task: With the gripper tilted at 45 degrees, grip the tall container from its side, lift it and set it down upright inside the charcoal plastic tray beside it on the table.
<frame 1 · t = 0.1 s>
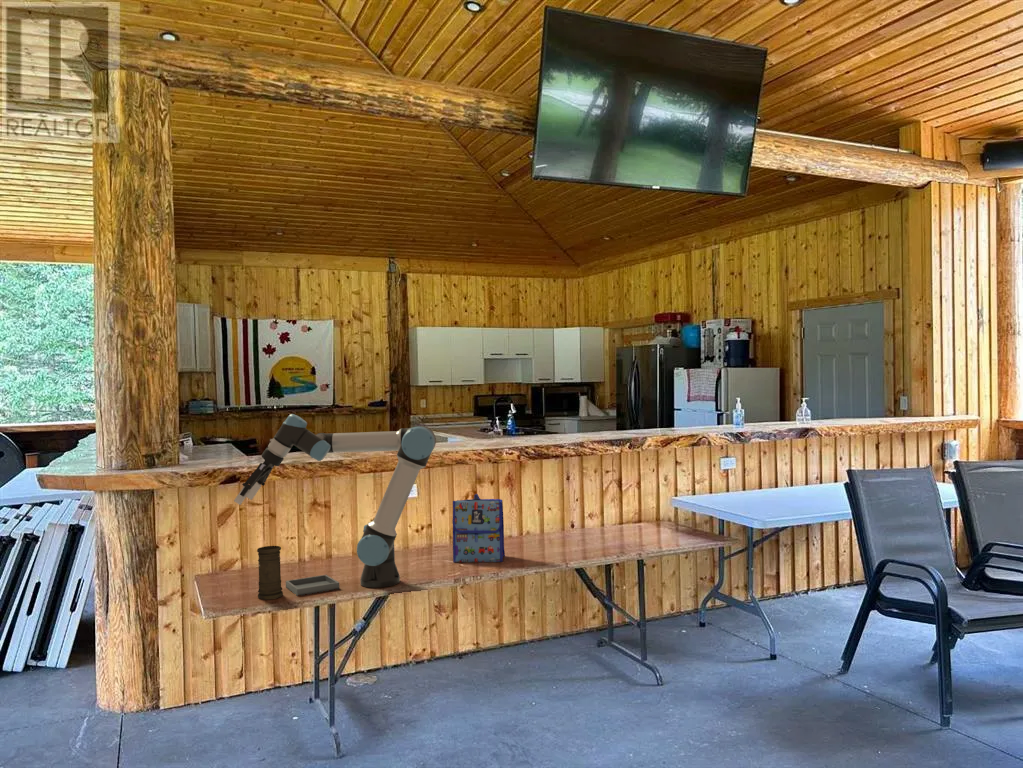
hand: (242, 500, 277), 36 cm above the table, tool tilted 35°, fingers open, 13 cm apart
lunch bag: (479, 560, 329), on the table
tray: (312, 588, 287), on the table
container: (270, 597, 277), on the table
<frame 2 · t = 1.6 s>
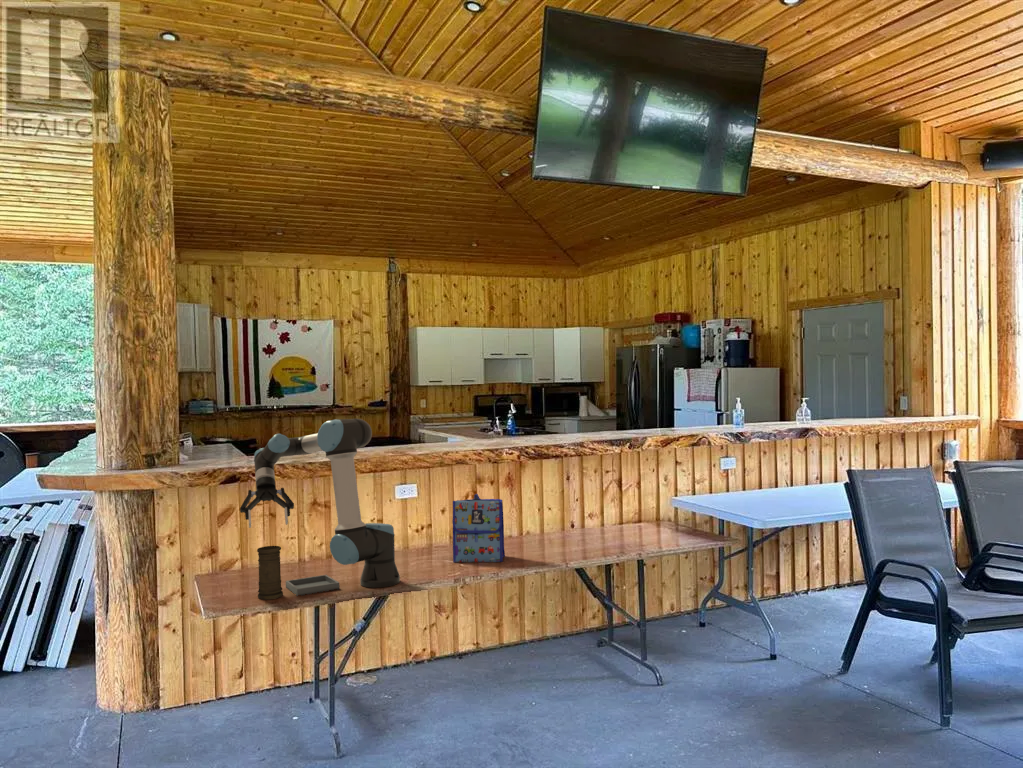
hand: (268, 524, 291), 24 cm above the table, tool tilted 45°, fingers open, 13 cm apart
nothing on the table moved.
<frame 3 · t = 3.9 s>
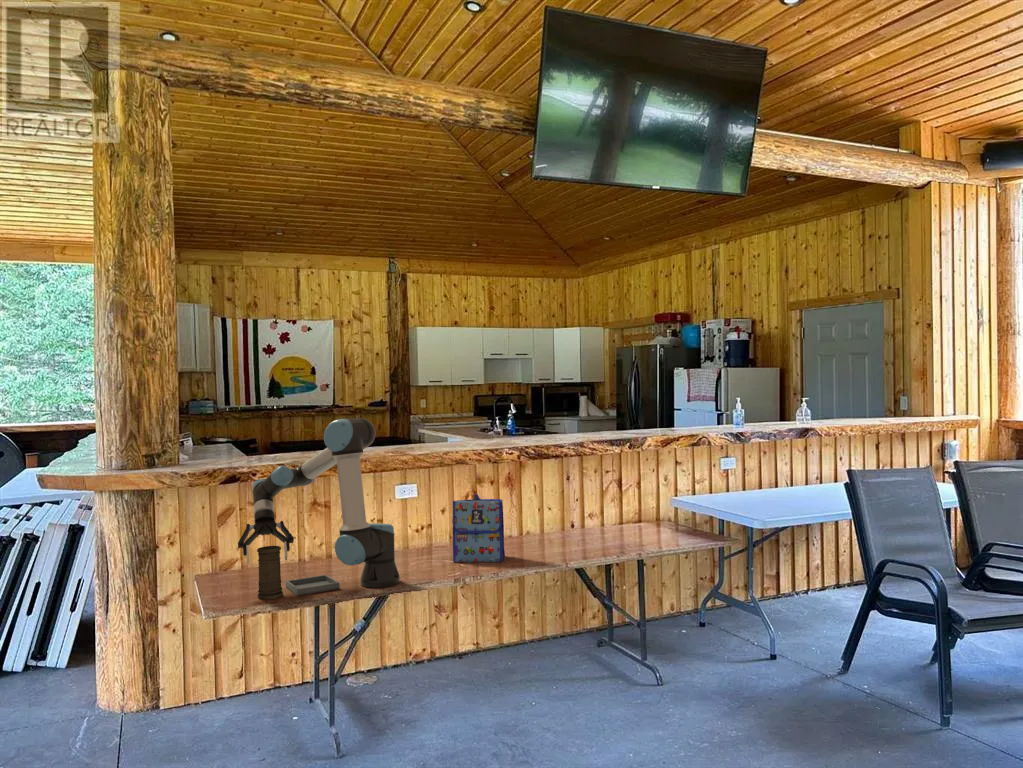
hand: (267, 559, 280), 13 cm above the table, tool tilted 45°, fingers open, 13 cm apart
nothing on the table moved.
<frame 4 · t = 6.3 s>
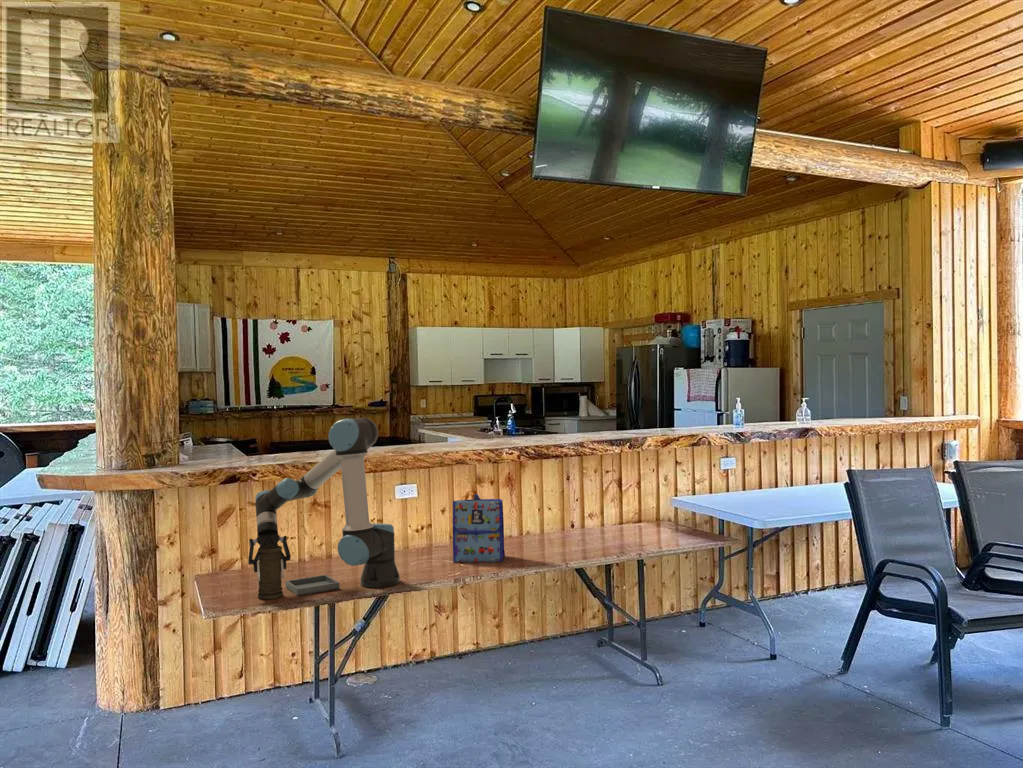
hand: (270, 577, 274), 8 cm above the table, tool tilted 45°, fingers closed on container, 8 cm apart
container: (270, 596, 277), on the table, touching gripper
everything else where it was.
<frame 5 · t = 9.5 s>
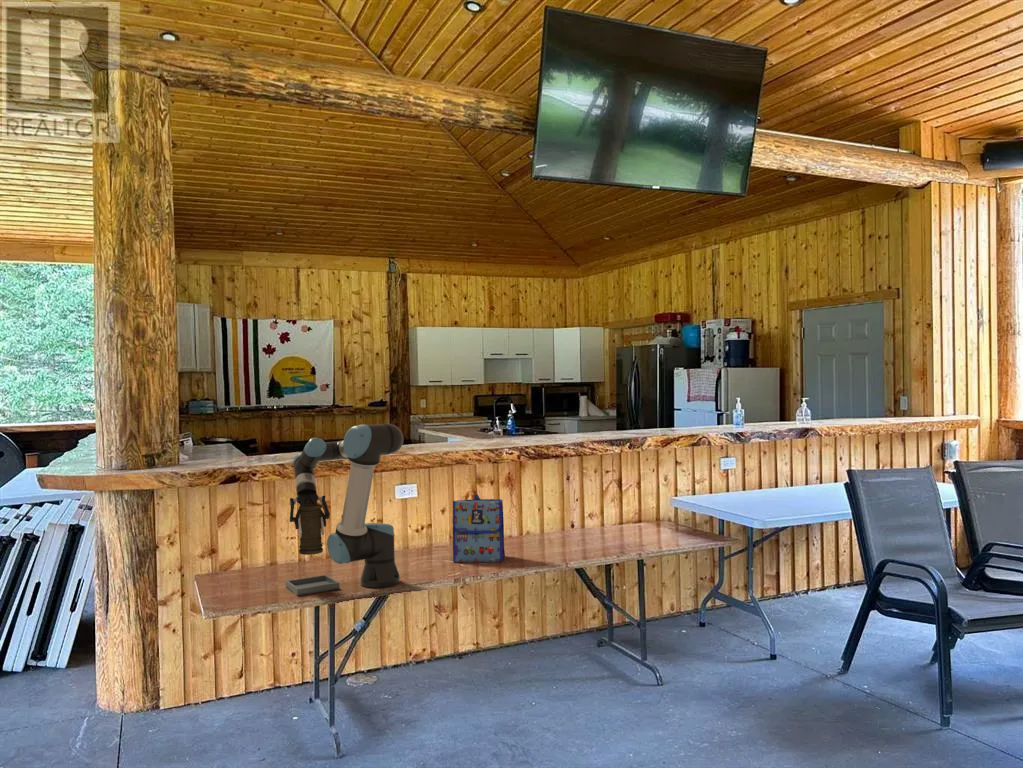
hand: (311, 534, 284), 21 cm above the table, tool tilted 45°, fingers closed on container, 8 cm apart
container: (311, 553, 287), point 13 cm above the table, touching gripper
everything else where it was.
when the fingers open (9 cm above the table, at t = 12.5 s): container moves 3 cm, resting on tray.
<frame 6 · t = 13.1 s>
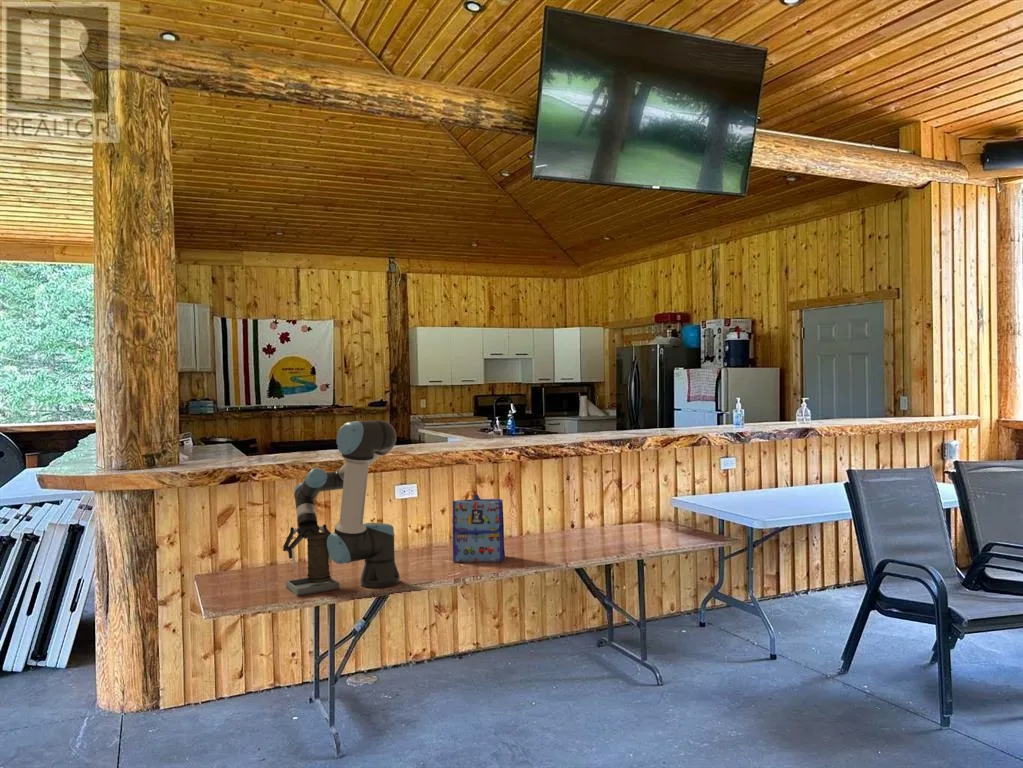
hand: (312, 562, 285), 10 cm above the table, tool tilted 45°, fingers open, 13 cm apart
container: (319, 581, 289), point 2 cm above the table, touching gripper, tray
everything else where it was.
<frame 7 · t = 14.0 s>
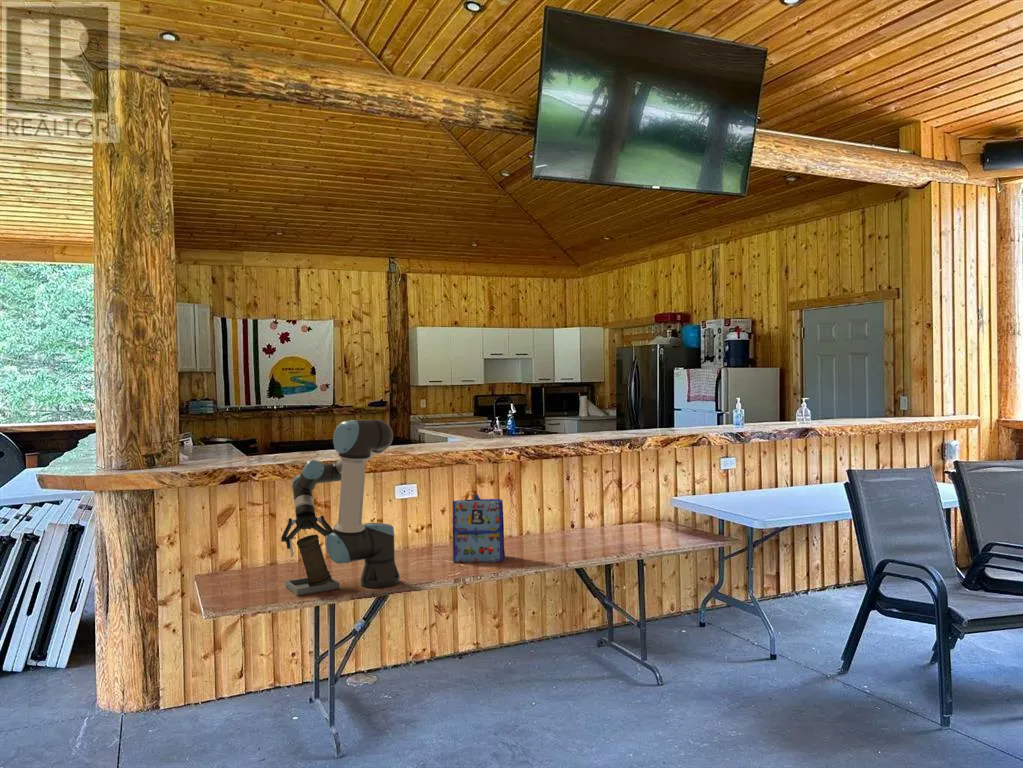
hand: (310, 553, 288), 13 cm above the table, tool tilted 45°, fingers open, 13 cm apart
container: (320, 582, 289), point 2 cm above the table, touching tray
everything else where it was.
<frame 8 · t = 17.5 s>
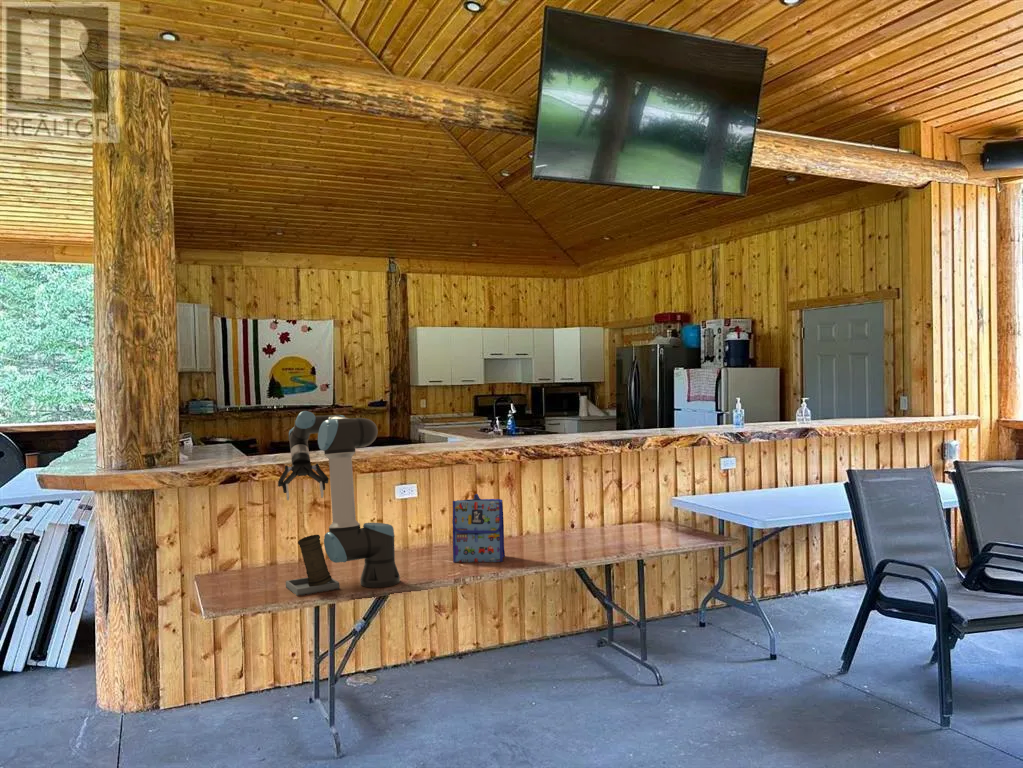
hand: (305, 497, 305), 33 cm above the table, tool tilted 45°, fingers open, 13 cm apart
nothing on the table moved.
at the end: container inside the target area on the tray (3.3 cm from its centre), point 1.4 cm above the tray's base; container tilted 13°; the gripper is holding nothing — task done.
